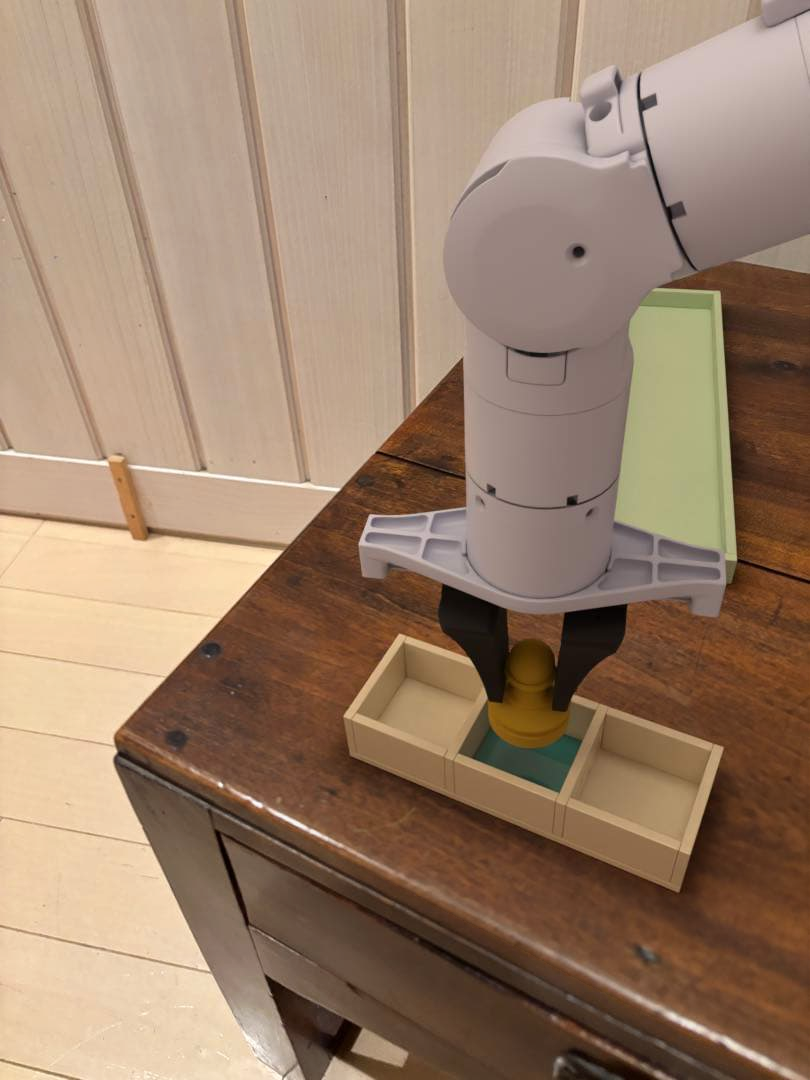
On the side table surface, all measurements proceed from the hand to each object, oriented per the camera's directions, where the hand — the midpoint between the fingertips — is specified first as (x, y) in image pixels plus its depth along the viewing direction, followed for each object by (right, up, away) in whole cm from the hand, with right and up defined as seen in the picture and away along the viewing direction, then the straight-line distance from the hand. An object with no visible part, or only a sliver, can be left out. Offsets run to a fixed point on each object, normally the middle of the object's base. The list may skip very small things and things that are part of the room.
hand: (530, 690), depth 43 cm
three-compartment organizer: (0, -5, +5) cm, 7 cm away
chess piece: (0, -2, +1) cm, 2 cm away
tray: (+13, +16, +27) cm, 34 cm away
